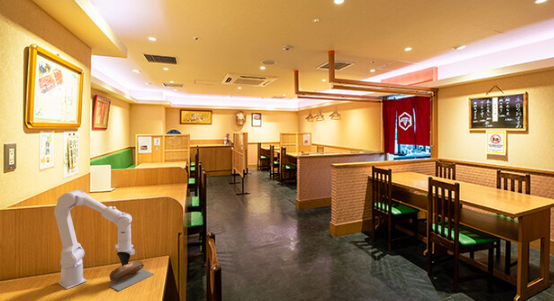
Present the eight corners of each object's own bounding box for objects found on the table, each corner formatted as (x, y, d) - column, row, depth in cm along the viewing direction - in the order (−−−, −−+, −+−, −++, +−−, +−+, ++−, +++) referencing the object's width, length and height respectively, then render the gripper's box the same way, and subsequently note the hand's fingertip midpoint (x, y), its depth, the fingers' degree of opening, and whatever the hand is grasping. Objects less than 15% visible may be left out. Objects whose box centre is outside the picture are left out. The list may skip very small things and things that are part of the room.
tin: (108, 283, 119) (113, 275, 115) (106, 277, 120) (111, 269, 116) (141, 270, 131) (146, 263, 127) (139, 265, 132) (144, 257, 128)
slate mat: (108, 285, 117) (108, 284, 117) (143, 269, 132) (143, 269, 132) (118, 291, 113) (118, 290, 113) (153, 274, 127) (153, 273, 127)
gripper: (140, 239, 125) (141, 265, 125) (124, 233, 132) (125, 259, 133) (126, 244, 119) (126, 272, 119) (110, 238, 126) (110, 264, 126)
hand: (124, 265), depth 125 cm, fingers closed
